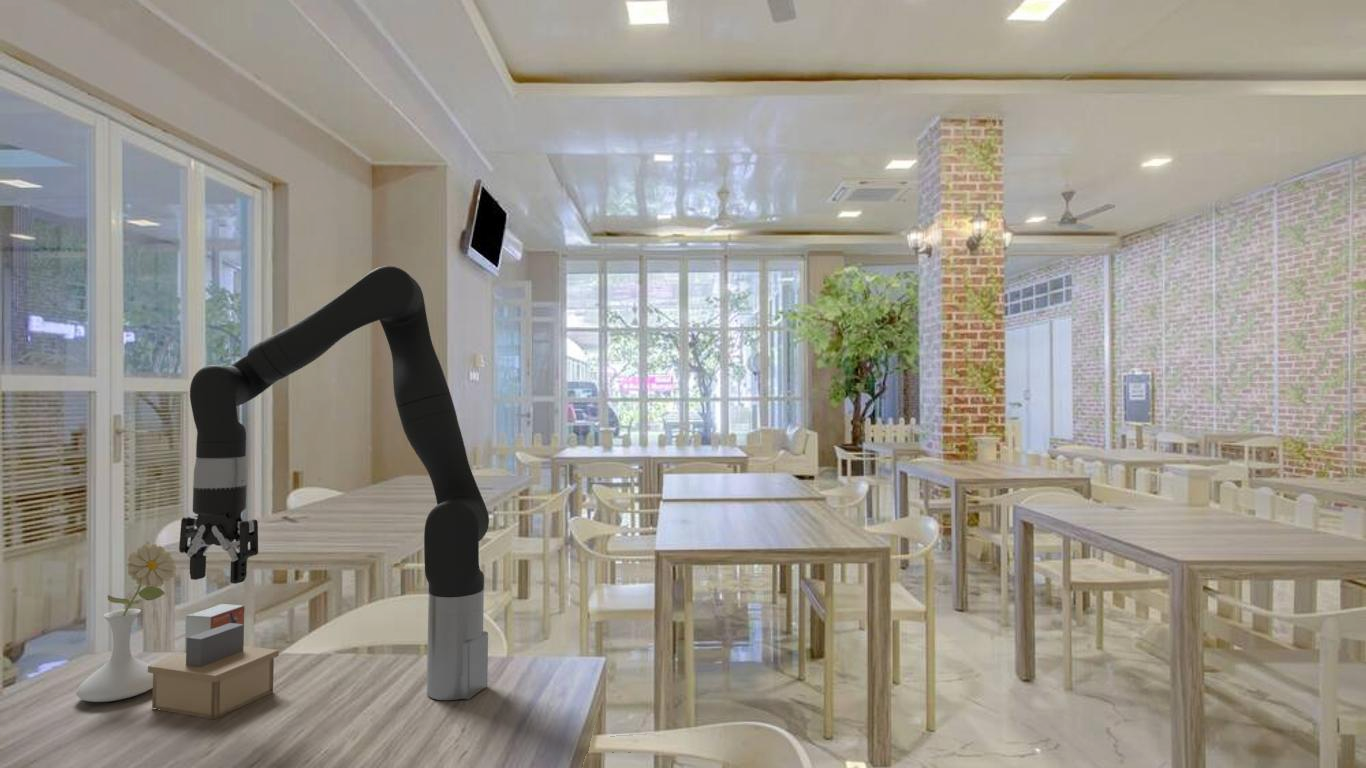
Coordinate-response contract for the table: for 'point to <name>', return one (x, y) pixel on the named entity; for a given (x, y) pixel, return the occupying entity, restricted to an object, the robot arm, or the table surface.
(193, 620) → the small box
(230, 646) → the mailer lid
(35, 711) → the table surface
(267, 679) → the box
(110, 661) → the flower in vase
